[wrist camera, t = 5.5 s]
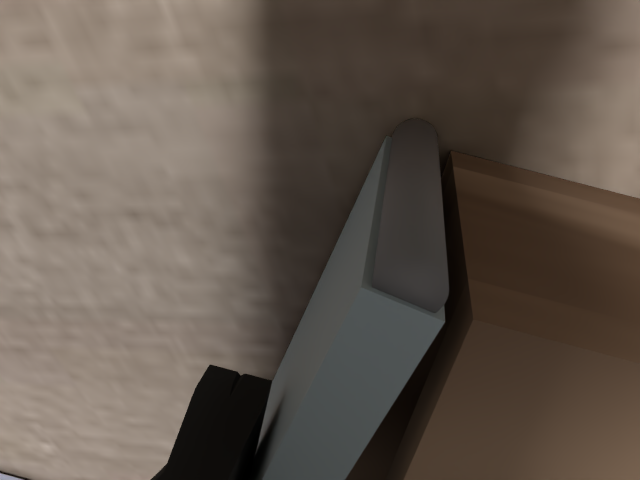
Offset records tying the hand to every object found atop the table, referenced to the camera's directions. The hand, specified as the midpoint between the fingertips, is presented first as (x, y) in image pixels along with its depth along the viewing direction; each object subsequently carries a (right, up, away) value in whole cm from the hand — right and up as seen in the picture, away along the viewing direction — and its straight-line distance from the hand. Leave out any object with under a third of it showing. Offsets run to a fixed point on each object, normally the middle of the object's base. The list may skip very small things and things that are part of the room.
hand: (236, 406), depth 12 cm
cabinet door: (+1, 0, +4) cm, 4 cm away
